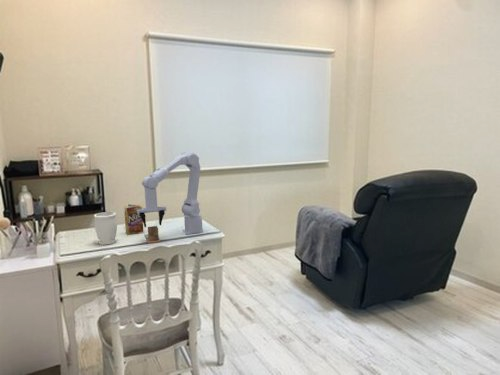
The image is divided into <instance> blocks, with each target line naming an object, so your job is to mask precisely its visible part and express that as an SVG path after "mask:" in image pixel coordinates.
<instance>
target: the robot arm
mask: <svg viewBox="0 0 500 375" xmlns="http://www.w3.org/2000/svg"><path fill="white" fill-rule="evenodd" d="M181 165H182V166H183V165H184V166H186V167H187V169H189V178H188V185H187V192H186V193H187V194H186V199H184V201H183V205H182V206H181V212H182V214H183V217H184V229H182V232H184V233H185V235H191V234H192V235H193V234H198V233H199V232H200V233H203V232H204V230H203V218H202V216H201V215H200V213H201V212H200V210H201V209H200V203H199V202H198V200H197V199H198V191H199V183H200V178H201V177H200V175H201V164H200V157H199V156H198V155H197V154H196V153H194V152H186V151H185V152H181V153H180V154H178V155H177V156H176V157H175V158H174V159H173V160H172V161H170V163H168V164H167V165H166V166H164V167H157V168H156V170H155V171H153V172H152V173H150V174H149V175H148V176H145V177H144V178H143V179H142V181H141V184H142V186H143V188H144V198H145V202H144V204H145V207H144V208H142V209H138V210H137V214H140V216H141V218H142V220H143V228H147V223H146V222H147V221H146V220H147V219H146V214H148V213H157V212H158V225H159V226H162V222H163V218H164V216H165V214H166V212H167V206H158V198H157V195H158V194H157V188H158V185H159V183H161V182H163V180H164V179H166V178H167V177H168V176H169V173H171V172H172V171H173V170H175V169H176V168H177V167H179V166H181Z"/></svg>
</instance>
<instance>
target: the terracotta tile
mask: <svg viewBox="0 0 500 375" xmlns="http://www.w3.org/2000/svg"><path fill="white" fill-rule="evenodd" d="M146 241H147V243H148V244H152V243H159V242H161V239H160V238H159V240H157V241H149V239H148V238H147V239H146Z"/></svg>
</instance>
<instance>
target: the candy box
mask: <svg viewBox="0 0 500 375" xmlns="http://www.w3.org/2000/svg"><path fill="white" fill-rule="evenodd" d="M134 205H135V206H128V205H127V206H124V212H125V214H124V221H125V222H124V223H125V234H126V235H128V236H129V235H134V234H135V235H136V234H140V233H144V223H143V220H142V218H141V216H140V214H137V210H138V209H143V205H141V204H134Z"/></svg>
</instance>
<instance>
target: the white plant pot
mask: <svg viewBox="0 0 500 375" xmlns="http://www.w3.org/2000/svg"><path fill="white" fill-rule="evenodd" d="M116 216H117V213H116V212H114V211H104V212H98V213H95V214H94V215H93V217H94V218H95V219H94V230H95V233H96V236H97V239H98V240H99V241H98V244H99V245H101V246H102V245H103V246H104V245H105V246H106V245H112V244H115V243H116V242H117V239H116V237H117V231H118V223H117V222H118V221H117V218H116Z"/></svg>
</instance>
